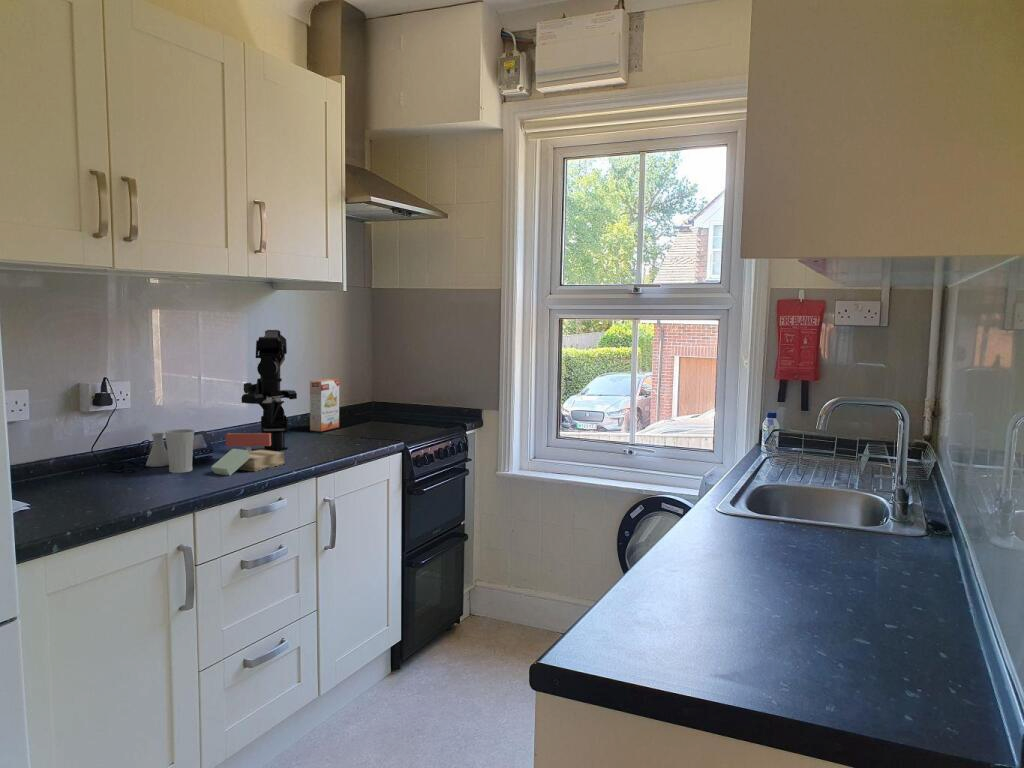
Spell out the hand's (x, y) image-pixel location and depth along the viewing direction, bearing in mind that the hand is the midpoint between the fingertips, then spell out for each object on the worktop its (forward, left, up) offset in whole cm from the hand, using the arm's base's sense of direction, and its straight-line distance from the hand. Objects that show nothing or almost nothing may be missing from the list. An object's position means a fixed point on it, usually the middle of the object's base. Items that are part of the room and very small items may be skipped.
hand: (270, 422), depth 231 cm
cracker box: (-58, -30, -12) cm, 66 cm away
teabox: (+11, +6, -12) cm, 17 cm away
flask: (+25, -22, -12) cm, 35 cm away
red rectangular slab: (+3, -7, -12) cm, 14 cm away
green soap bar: (+21, +6, -10) cm, 24 cm away
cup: (+27, -9, -12) cm, 31 cm away
